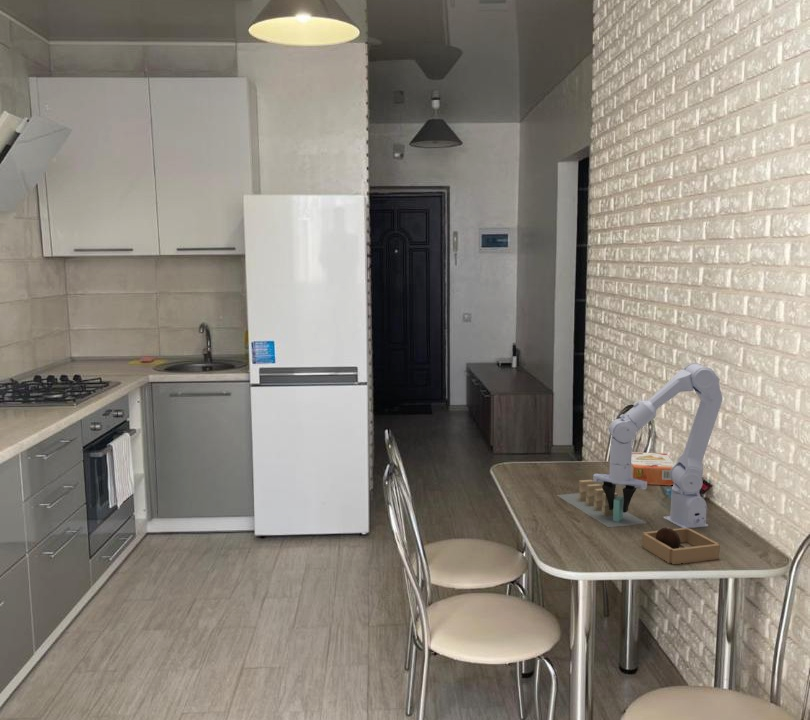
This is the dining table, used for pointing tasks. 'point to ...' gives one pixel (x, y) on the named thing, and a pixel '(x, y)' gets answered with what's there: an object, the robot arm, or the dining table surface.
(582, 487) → the tile
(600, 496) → the tan wooden block
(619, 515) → the tile
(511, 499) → the dining table surface
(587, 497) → the tile
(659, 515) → the dining table surface
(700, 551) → the board and tray
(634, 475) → the cracker box
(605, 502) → the tile
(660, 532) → the dark brown rounded piece
